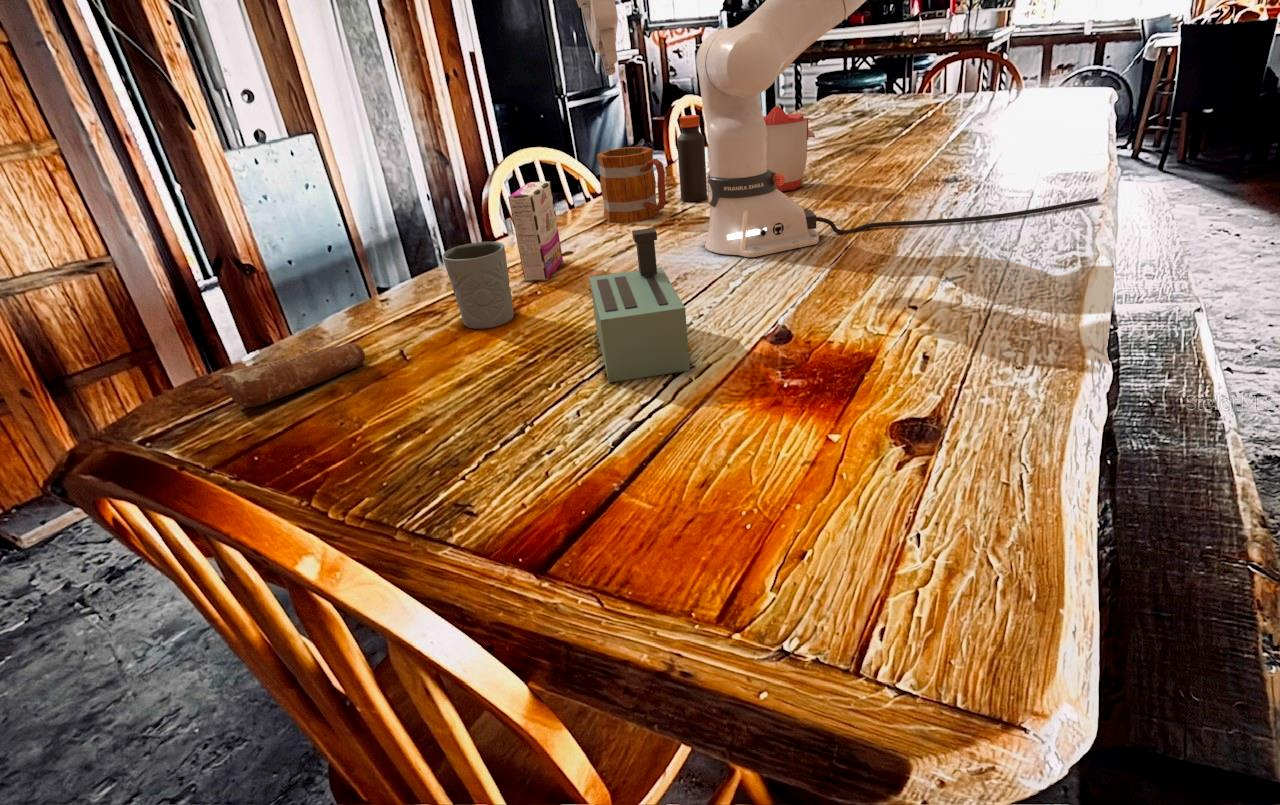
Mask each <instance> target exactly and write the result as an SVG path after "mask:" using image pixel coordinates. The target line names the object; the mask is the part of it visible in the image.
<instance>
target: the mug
mask: <svg viewBox="0 0 1280 805" xmlns="http://www.w3.org/2000/svg"><path fill="white" fill-rule="evenodd" d="M596 159H597V163H598V169H599V177H600V178H599V184H600V192H601V197H602V204H603V218H604V220H606V221H608V222H609V223H625V224H626V223H635V222H641V221H645V220H646V221H647V220H650V219H652V218H654V217H655V216H656V215H659V212H660V211H662V210H663V209H665V207H666V206H665V204H666V202H667V201H666V200H667V198H666V172H665V168H664V164H663V162H662V161H660V160H659V159H658V158H654V149H653V148H650V147H647V146H625V147H618V148H614V149H606V150H604V151H602V152H600V153H596ZM654 166H655V169H656V172H657V181H656V176H655V169H654ZM656 182H657V183H656ZM656 184H657V186H656ZM656 188H657V189H656ZM656 190H657V191H656ZM656 192H657V193H658V194H657V193H656ZM656 194H657V195H656ZM657 196H658V203H657Z"/></svg>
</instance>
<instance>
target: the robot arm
mask: <svg viewBox="0 0 1280 805" xmlns="http://www.w3.org/2000/svg"><path fill="white" fill-rule="evenodd" d="M575 2H576V3H577V6H578V8H579V9H580V8H581V12H582V14H583V15H582V16H583V18H584V21H585V24H586V28H587V32H588V35H589V38H590V42H591V45H592V47H593V50H594V52H595V53H596V54H600V58H601V63H602V64H603V69H604V74H605V75H606V76H607V77H609V76H614V75H615V74H616V65H615V64H617V63H618V58H619V57H618V53H617V52H618V51H617V44H616V38H617V30H618V24H619V20H618V19H619V17H618V10H617V6H616V0H575ZM866 2H867V0H765V1H764V2H763V3H762V4H761V5H760V6H759V7H757V9H755V11H754V12H752V13H751V14H750V15H749V16H748V17H746V19H745V20H743V21H742V22H741V23H739V24H737V25H735V26H734V27H724V28H719V29H716V30H714V31H713V32H710V34H709V35H707V37H706V38H704V40H703V41H702V43H701V44H700V45H699V48H698V50H697V53H696V57H695V67H696V71H697V75H698V81H699V88H700V96H701V103H702V109H703V114H704V119H705V125H706V132H707V144H708V145H707V146H708V147H707V149H708V167H709V174H708V175H707V182H706V183H707V201H708V203H709V220H708V221H709V222H708V230H707V236H706V241H705V244H704V247H705V249H706V250H708V251H709V252H711V253H715V254H720V255H721V254H722V255H728V256H729V255H732V256H741V257H745V258H755V257H756V258H757V257H761V256H766V255H771V254H775V253H781V252H785V251H790V250H794V249H799V248H805V247H808V246H809V247H810V246H814V245H817V244H819V242H820V235H819V233H818V232H817V231H816V230H815V229H817V222H819V223H824V224H826V225H829V227H830V228H831V230H832V231H833V232H834V233H836V234H839V235H846V234H850V233H851V234H852V233H855V232H856V233H857V232H860V231H863V230H866V229H873V228H881V227H883V228H884V227H901V226H903V227H904V226H905V227H906V226H921V225H938V224H939V225H940V224H941V225H942V224H955V223H965V222H977V221H978V222H979V221H989V220H997V219H1005V218H1012V217H1019V216H1025V215H1031V214H1038V213H1045V212H1049V211H1056V210H1060V209H1065V208H1072V207H1077V206H1083V205H1088V204H1093V203H1097V202H1099V197H1091V198H1087V199H1081V200H1076V201H1071V202H1065V203H1064V202H1063V203H1059V204H1053V205H1048V206H1042V207H1037V208H1030V209H1024V210H1018V211H1011V212H1003V213H994V214H987V215H977V216H965V217H963V216H962V217H952V218H939V219H938V218H937V219H936V218H935V219H923V220H922V219H921V220H902V221H901V220H900V221H899V220H898V221H880V222H871V223H865V224H862V225H859V226H857V227H856V226H855V227H852V228H850V229H849V228H848V229H839V228H838V227H837V226H836V224H835V222H834V221H832V220H831V219H828V218H826V217H820V216H817V214H816V213H815V212H813V211H812V210H811V209H803V207H802V206H801V205H800V204H799V203H798V202H796V201H794V200H793V199H792V198H791V197H789V196H788V195H787V194H785V193H783V191H779V190H778V189H776V188H777V185H779V186H781V185H783V184H784V183H783V182H785V181H784V180H786V179H784V178H785V177H784V175H782V174H780V173H777V174H776V173H774V172H772V171H770V170H768V169H767V127H766V123H765V121H764V118H763V117H764V115H763V110H762V105H761V100H760V94H761V93H764V92H765V91H766V90H768V89H769V88H770V87H771V86H772V85H773V84H774V83H775V81H776V79H777V78H778V77H779V76H780V75H781V74H782V73H783V72H785V70H787V68H789V66H791V64H792V63H793V62H794V61H795V60H797V58H798V57H799V56H800V55H801V54H802V53H803V52H804V51H805V50H806V49H808V48H809V47H810V46H812V45H813V44H814V43H816V42H817V41H818V40H819V39H821V38H822V37H824V35H826V34H828V32H830V31H831V30H832V29H834V28H835V27H836V26H838V25H839V24H841V22H843V21H845V20H846V19H847V18H848V17H850V16H851V15H852V14H854V12H855V11H857V10H858V9H859V8H861V6H862V5H863V4H864V3H866Z"/></svg>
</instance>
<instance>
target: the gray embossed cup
mask: <svg viewBox="0 0 1280 805" xmlns="http://www.w3.org/2000/svg"><path fill="white" fill-rule="evenodd" d="M442 261H443V263H444V266H445V270H446V272H447V275H448V279H449V282H450V285H451V288H452V291H453V294H454V295H455V300H456V303H457V307H458V309H459V313H460V315H461V320H462V323H463V325H464V326H465V327H466V328H468V329H469V328H470V329H474V330H476V329H479V330H482V329H483V330H484V329H492V328H495V327H499V326H502V325H505V324H507V323H509V322H510V321H511V320H513V319H514V317H515V316H514V315H515V312H514V306H513V296H512V290H511V287H510V283H511V282H510V276H509V268H508V262H507V255H506V248H505V244H504V243H503V242H500V241H477V242H471V243H465V244H462V245H458V246H455V247H452V248H449V249H448V250H446V251H445V252H443V253H442Z"/></svg>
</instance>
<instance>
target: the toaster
mask: <svg viewBox="0 0 1280 805" xmlns="http://www.w3.org/2000/svg"><path fill="white" fill-rule="evenodd" d="M589 284H590V285H589V286H590V293H591V300H592V307H593V314H594V322H595V328H596V329H595V330H596V335H597V339H598V343H599V347H600V351H601V357H602V360H603V364H604V369H605V372H606V376H607V381H608V383H616V382H622V381H623V382H624V381H628V380H630V381H631V380H636V379H642V378H649V377H655V376H661V375H668V374H669V375H670V374H674V373H682V372H689V371H690V369H691V368H690V356H689V342H688V341H689V340H688V328H687V327H688V326H687V312H686V306H685V305H684V303H683V301H682V300H681V298H680V296H679V295H678V293H677V291H676V289H675V287H674V286H673V285H672V283H671V281H670V279H669V277H668V275H667V273H666V271H665V270H664V269H663V267H662V266H659V267H657V274H653V275H646V276H641V275H640V273H639V269H638V270H630V271H624V272H623V271H622V272H616V273H609V274H603V275H601V274H600V275H594V276H589Z"/></svg>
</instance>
